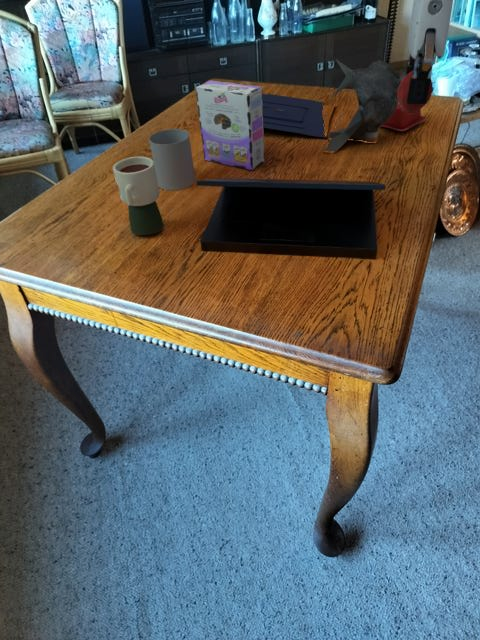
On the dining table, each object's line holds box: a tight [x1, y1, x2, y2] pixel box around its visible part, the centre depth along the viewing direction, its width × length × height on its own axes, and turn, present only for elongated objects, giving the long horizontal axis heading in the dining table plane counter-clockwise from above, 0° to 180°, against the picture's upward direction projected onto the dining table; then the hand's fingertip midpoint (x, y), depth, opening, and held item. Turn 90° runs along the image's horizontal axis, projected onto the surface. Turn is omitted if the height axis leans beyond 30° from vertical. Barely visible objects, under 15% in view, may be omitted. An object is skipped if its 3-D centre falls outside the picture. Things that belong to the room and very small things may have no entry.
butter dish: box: [380, 102, 427, 132], centre depth 117 cm, size 12×12×8 cm
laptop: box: [200, 187, 379, 260], centre depth 87 cm, size 22×30×2 cm
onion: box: [397, 65, 434, 114], centre depth 81 cm, size 6×6×8 cm
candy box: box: [194, 79, 265, 171], centre depth 104 cm, size 14×6×16 cm, turn 56°
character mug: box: [112, 155, 165, 236], centre depth 85 cm, size 11×7×13 cm, turn 173°
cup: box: [148, 128, 196, 192], centre depth 100 cm, size 8×8×10 cm
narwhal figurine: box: [324, 58, 402, 153], centre depth 106 cm, size 14×15×18 cm
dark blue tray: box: [262, 93, 325, 138], centre depth 126 cm, size 24×30×4 cm
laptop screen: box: [195, 177, 387, 191], centre depth 84 cm, size 22×30×1 cm
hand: (414, 95), depth 82 cm, fingers closed on onion, 6 cm apart
